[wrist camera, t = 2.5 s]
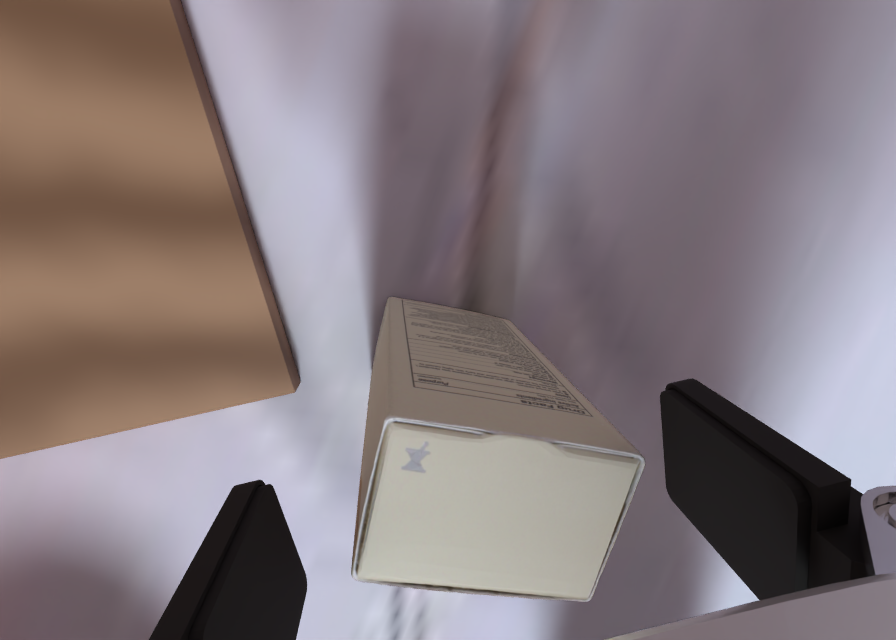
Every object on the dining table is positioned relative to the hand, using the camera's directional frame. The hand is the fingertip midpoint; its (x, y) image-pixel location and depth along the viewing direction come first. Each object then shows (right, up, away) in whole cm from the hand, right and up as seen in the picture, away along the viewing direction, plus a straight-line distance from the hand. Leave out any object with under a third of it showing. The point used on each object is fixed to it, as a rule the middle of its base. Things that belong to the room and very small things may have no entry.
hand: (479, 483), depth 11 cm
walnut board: (-16, +8, +8) cm, 20 cm away
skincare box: (-1, +2, +11) cm, 12 cm away
